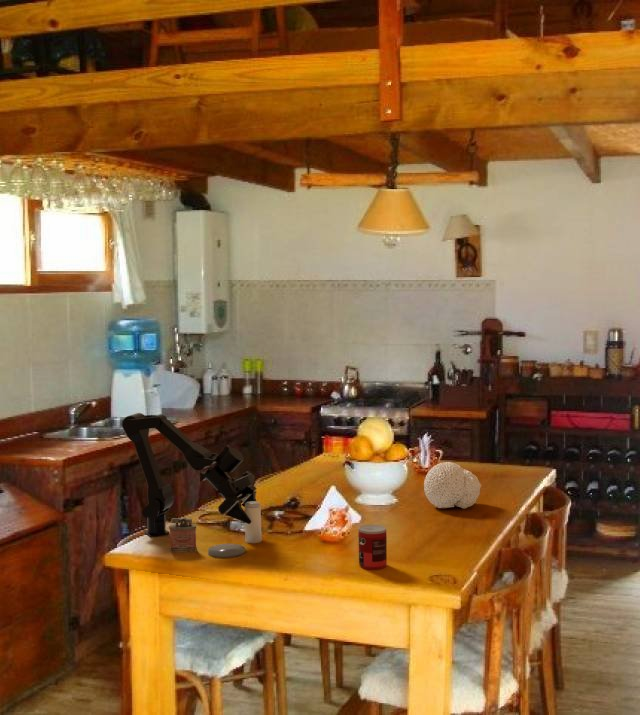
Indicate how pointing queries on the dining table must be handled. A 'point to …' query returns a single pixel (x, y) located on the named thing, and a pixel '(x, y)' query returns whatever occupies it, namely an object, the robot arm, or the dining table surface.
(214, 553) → the disc
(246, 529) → the salt shaker
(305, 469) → the dining table surface
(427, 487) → the beige brain coral
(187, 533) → the lighter
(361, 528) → the canned food
